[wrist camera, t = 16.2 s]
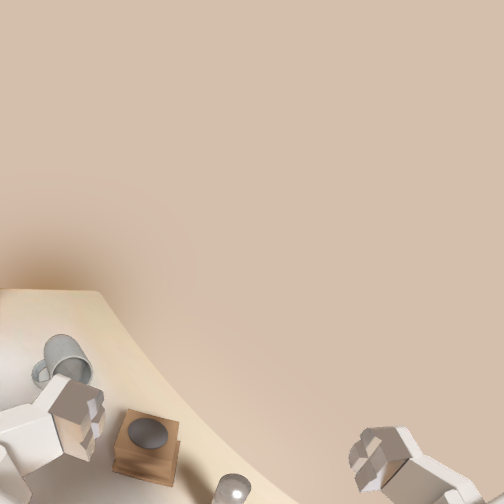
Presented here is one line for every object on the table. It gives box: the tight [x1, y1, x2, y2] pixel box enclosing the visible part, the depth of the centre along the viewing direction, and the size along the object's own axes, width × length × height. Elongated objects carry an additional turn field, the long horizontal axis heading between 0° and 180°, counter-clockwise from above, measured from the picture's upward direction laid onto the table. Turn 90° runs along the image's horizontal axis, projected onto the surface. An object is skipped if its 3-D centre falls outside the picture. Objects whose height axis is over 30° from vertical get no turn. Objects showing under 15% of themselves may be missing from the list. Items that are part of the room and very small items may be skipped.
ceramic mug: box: [32, 334, 93, 389], centre depth 38 cm, size 11×8×8 cm
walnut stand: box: [112, 409, 180, 487], centre depth 31 cm, size 8×8×6 cm
